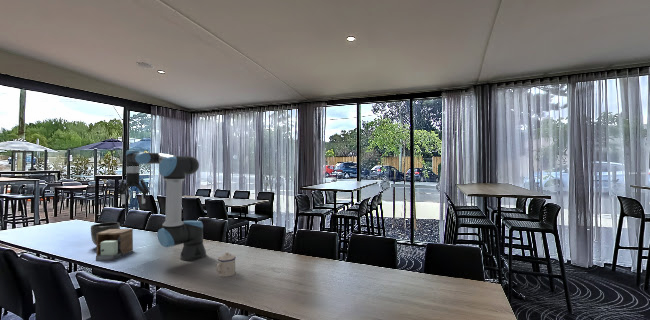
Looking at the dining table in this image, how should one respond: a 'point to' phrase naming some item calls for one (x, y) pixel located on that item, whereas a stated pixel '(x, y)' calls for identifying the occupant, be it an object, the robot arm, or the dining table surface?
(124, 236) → the wood-grain box
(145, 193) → the robot arm
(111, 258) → the grey drawer
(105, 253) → the pale green block
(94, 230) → the planter
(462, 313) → the dining table surface
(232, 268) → the teacup with lid
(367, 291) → the dining table surface
